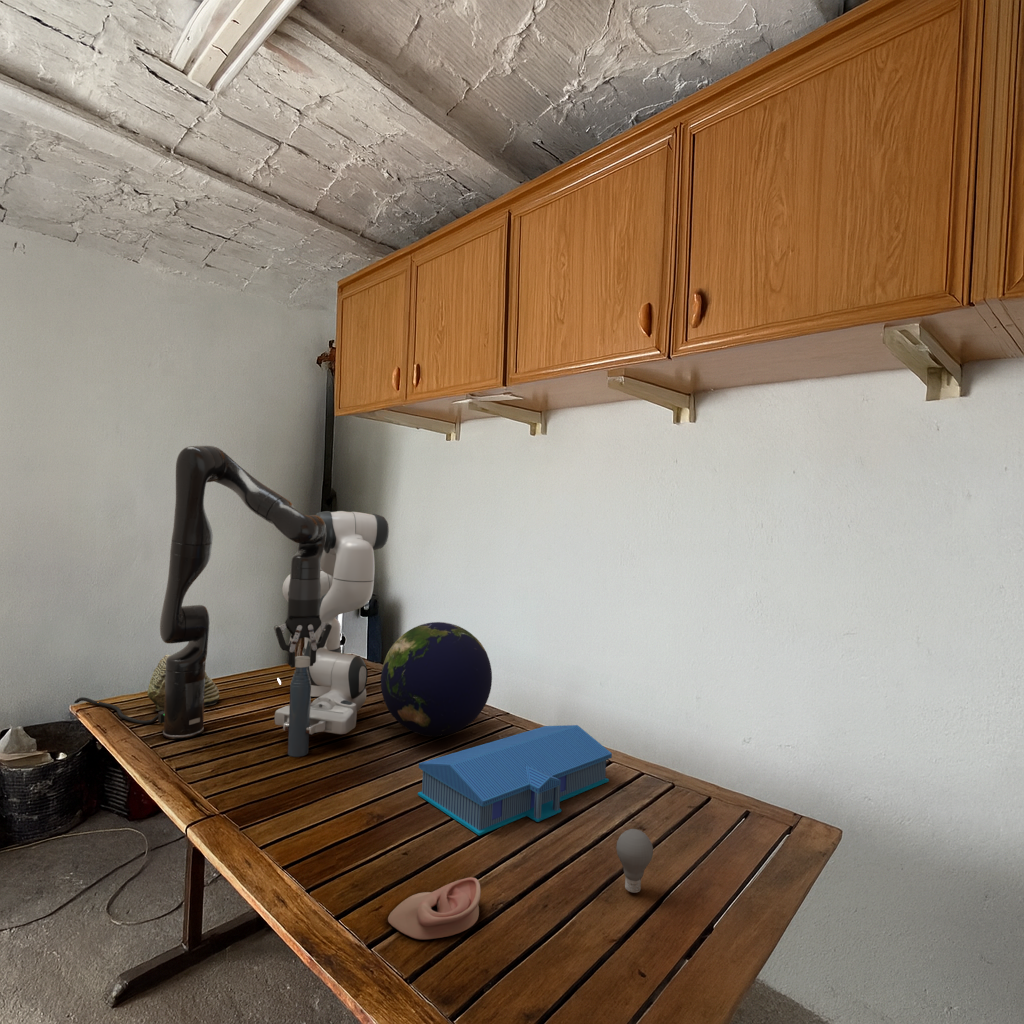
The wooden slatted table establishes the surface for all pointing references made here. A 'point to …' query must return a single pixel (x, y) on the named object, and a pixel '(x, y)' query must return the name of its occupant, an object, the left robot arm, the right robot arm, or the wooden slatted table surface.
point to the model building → (514, 777)
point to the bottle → (299, 713)
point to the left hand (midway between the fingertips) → (301, 665)
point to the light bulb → (634, 857)
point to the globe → (436, 679)
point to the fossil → (158, 687)
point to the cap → (302, 661)
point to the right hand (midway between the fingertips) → (297, 729)
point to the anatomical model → (439, 911)
